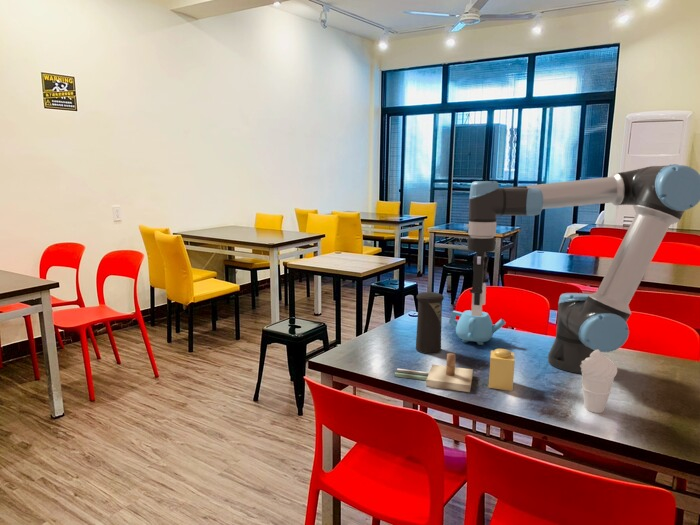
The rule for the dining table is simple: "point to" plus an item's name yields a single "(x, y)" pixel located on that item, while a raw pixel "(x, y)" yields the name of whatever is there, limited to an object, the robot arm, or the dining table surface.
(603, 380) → the soft serve ice cream cone
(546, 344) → the dining table surface
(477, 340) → the teapot
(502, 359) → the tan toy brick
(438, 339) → the container
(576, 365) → the robot arm
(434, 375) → the block
